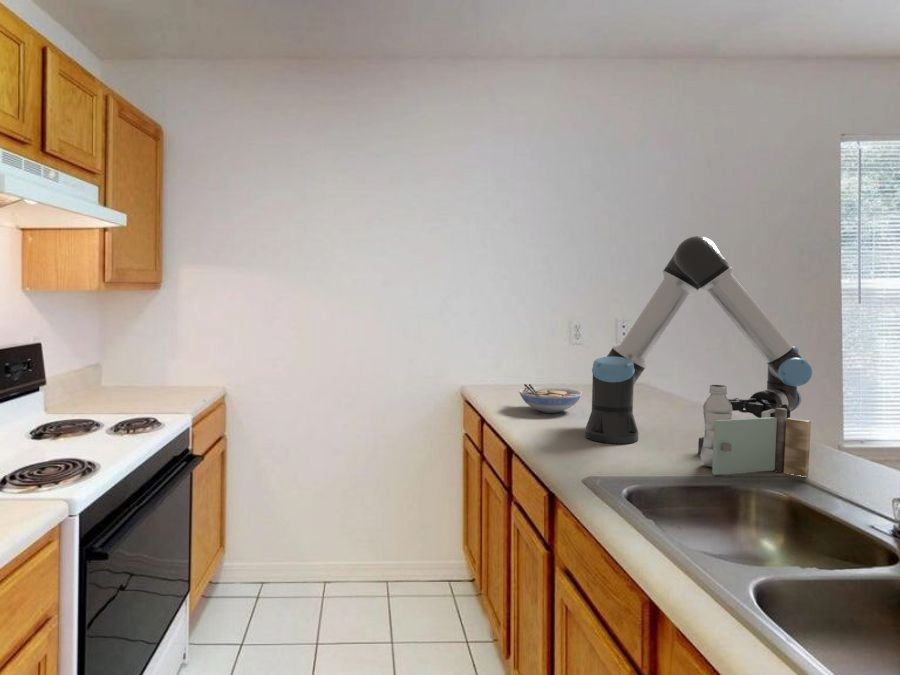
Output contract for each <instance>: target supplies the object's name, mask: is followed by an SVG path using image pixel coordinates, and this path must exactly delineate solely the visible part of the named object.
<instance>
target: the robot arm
mask: <svg viewBox="0 0 900 675" xmlns="http://www.w3.org/2000/svg"><path fill="white" fill-rule="evenodd" d="M732 269H733V267H732V266H731V264H730V263H729V262H728V260H727V259H726V258H725V256H724V255H723V254H722V252H721V251H720V249H719V248H718V246H717V244H716V243H715V242H714V241H713V240H712V239H709V238H708V237H705V236H698V235H697V236H696V235H695V236H691V237H689V238H685V239H684V240H683V241H682V242H681V243H679V245H678V246H677V248H676V250H675V252H674V253H673V256H672V257H671V258H670V260H669V261H668V263H667V265H666V266H665V267H664V269H663V270H662V275H663V280H662V282H661V283H660V284H659V285H658V287H657V289H656V290H655V292H654V293H653V295H652V296H651V298H650V300H649V301H648V302H647V304H646V306H645V307H644V309H643V310H642V312H641V313H640V314H639V316H638V318H637V319H636V321H635V322H634V324H633V325H632V327H631V328H630V330H629V331H628V332H627V334H626V336H625V337H624V339H623V340H622V342H621V343H620V344H619V345H614V346H613V347H612V348H611V350H610V351H609V353H607V355H606V356H602V357H599V358H596V359H595V360H594V361H593V363H592V368H591V372H592V385H591V386H592V387H591V388H592V389H591V392H592V393H591V411H590V415H589V416H588V417H589V418H588V420H587V423H586V425H585V430H584V431H585V432H584V433H585V434H584V437H585V436H586V437H587V438H586V437H585V438H586V439H588V438H589V439H588V440H591V441H595V442H598V441H599V442H598V443H604V442H605V444H616V443H623V444H632V443H636V442H638V441H639V435H640V434H639V433H640V432H639V429H638V426H637V422H636V420H635V416H634V413H633V412H634V387H635V386H634V385H635V384H636V382H637V381H638V379H639V378H640V376H642V373H643V372H644V370H645V369H646V368H647V365H646V358H647V357H648V355H649V354H650V353H651V351H652V349H653V348H654V347H655V345H656V344H657V342H658V341H659V339H660V338H661V337H662V335H663V334H664V332H665V331H666V329H667V327H668V326H669V325H670V323H671V322H672V320H673V319H674V317H675V316H676V314H677V313H678V312H679V310H680V308H681V307H682V305H683V304H684V302H685V301H686V299H687V298H688V296H689V295H690V294H692V293H695V292H698V291H699V289H700V290H705V291H706V292H708V294H709V295H710V296H711V297H712V298H713V300H714V301H715V302H716V303H717V305H718V306H720V308H721V309H722V311H723V312H724V313H725V314H726V315H727V317H728V318H729V319H730V320H731V321H732V323H733V324H734V326H736V327H737V329H738V330H739V331H740V332H741V334H742V335H744V337H745V338H746V340H747V341H748V342H749V343H750V345H751V347H753V348H754V349H755V350H756V352H757V353H758V354H759V355H760V357H761V358H762V359H763V361H765V363H766V364H767V379H766V380H767V382H766V389H764V390H761V391H757V392H755V393H753V394H752V395H751V396H750V397H749V398H748V399H747V398H745V399H744V398H741V399H740V398H738V397H735V398H728V400H729V401H730V403H731V404H732V408H733V410H732V412H734V411H738V412H740V413H745V414H747V413H749V414H752V415H753V416H755V418H766V417H775V408H785V409H787V418H791V413H792V412H793V411H794V410H796V409H798V408H799V406H800V405H801V403H802V395H801V393H800V391H799V389H798V387H802V386H804V385H806V384H807V383H809V382H810V380H811V379H812V377H813V368H812V366H811V364H810V363H809V362H808V360H806V359H804V358H803V357H802V356H801V355H800V354H799V348H798V347H797V346H793V345H792V344H791V343H790V341H789V340H787V338H786V337H785V336H784V334H783V333H782V332H781V331H780V329H779V328H778V327H777V325H775V323H773V322H772V320H771V318H769V317H768V315H767V314H766V312H765V311H764V310H763V309H762V308H761V307H760V306H759V304H758V303H757V302H756V301H755V299H754V298H753V297H752V296H751V295H750V294H749V293H748V291H747V290H746V289H745V287H744V286H743V285H742V284H741V283H740V282H739V281H738V279H737V278H736V276H734V274H733V273H732Z"/></svg>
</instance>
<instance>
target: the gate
mask: <svg viewBox="0 0 900 675" xmlns="http://www.w3.org/2000/svg"><path fill="white" fill-rule="evenodd" d="M776 427H777V418H775V417H766V418H758V417H752V418H751V417H748V418H731V419H727V420H714V440H713V467H711V470H712V471H711V474H712V475H715V476H716V475H717V476H718V475H729V474H742V473H752V472H753V473H754V472H767V471H773V470H775V450H776Z"/></svg>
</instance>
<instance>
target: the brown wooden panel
mask: <svg viewBox="0 0 900 675" xmlns="http://www.w3.org/2000/svg"><path fill="white" fill-rule="evenodd" d="M775 418H777V427H776V450H775V470H774V471H773V472H775V471H777V472H776V473H780V472H783V474H785V473H788V474H787V475H789V474H794V475H801V476H808V477H809V470H810V469H809V468H810V446H811V445H810V444H811V443H810V442H811V430H812V429H811V428H812V426H811V424H812V420H808V419H800V418H794V417H790V418H787V409H785V408H775ZM703 441H704V436H701V437H699V438H698V446H697V449H698V450H697V451H698V452H697V454H700V455H701V450H702V447H703ZM794 475H793V476H794Z"/></svg>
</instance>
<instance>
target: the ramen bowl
mask: <svg viewBox="0 0 900 675" xmlns="http://www.w3.org/2000/svg"><path fill="white" fill-rule="evenodd" d="M523 385H524V388H520V389H519V391H518V393H519V395H520V396H521V398H522V400H523V401H524V403H525V404H527V405H528V406H529V407H531V408H533V409H535V410H538V412H541V413H543V414H558V413H561V412H563V411H565V410H568V409H571V408H573V406H575V405H576V404H577V403H578V401H579V399H580V398H581V396H582V395H583V392H582V391H581V390H578V389H574V388H568V387H557V386H532V384H531V383H529V384H526V383H524V384H523Z"/></svg>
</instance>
